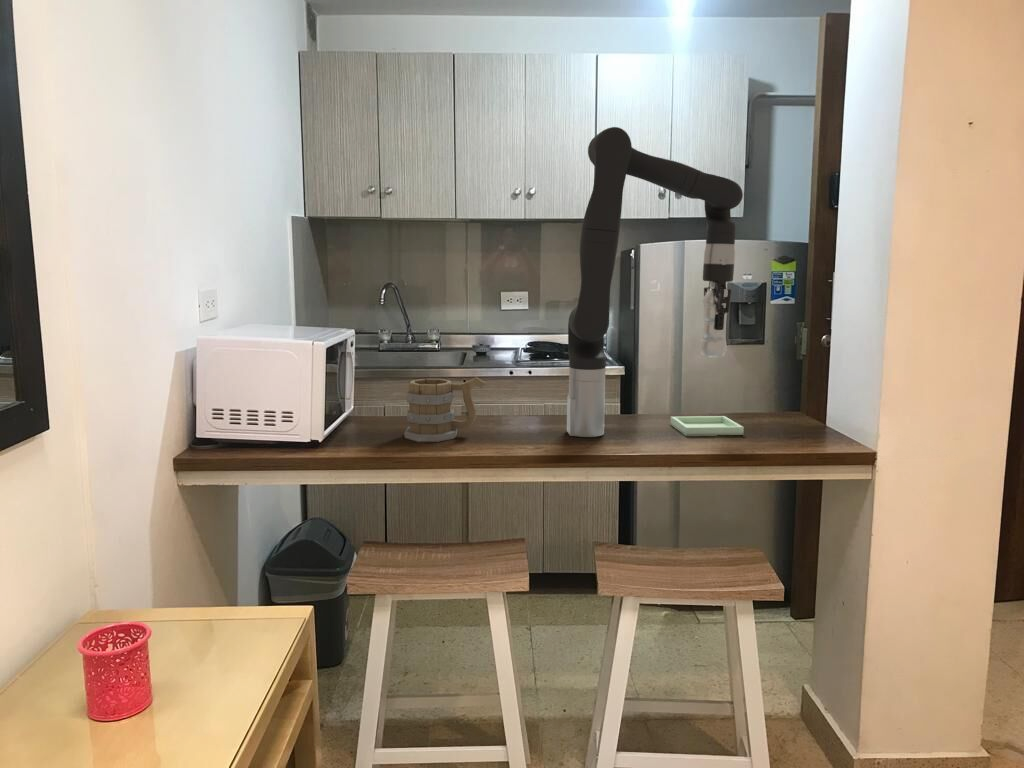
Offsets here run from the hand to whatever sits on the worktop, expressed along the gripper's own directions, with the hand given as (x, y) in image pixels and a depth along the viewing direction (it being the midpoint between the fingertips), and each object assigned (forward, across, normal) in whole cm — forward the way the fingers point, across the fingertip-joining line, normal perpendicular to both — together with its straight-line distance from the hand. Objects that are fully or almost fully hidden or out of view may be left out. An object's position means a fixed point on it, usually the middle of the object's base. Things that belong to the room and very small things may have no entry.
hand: (714, 328), depth 189 cm
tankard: (+29, +4, -69) cm, 74 cm away
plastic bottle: (+8, 0, 0) cm, 8 cm away
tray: (+27, -1, 0) cm, 27 cm away
